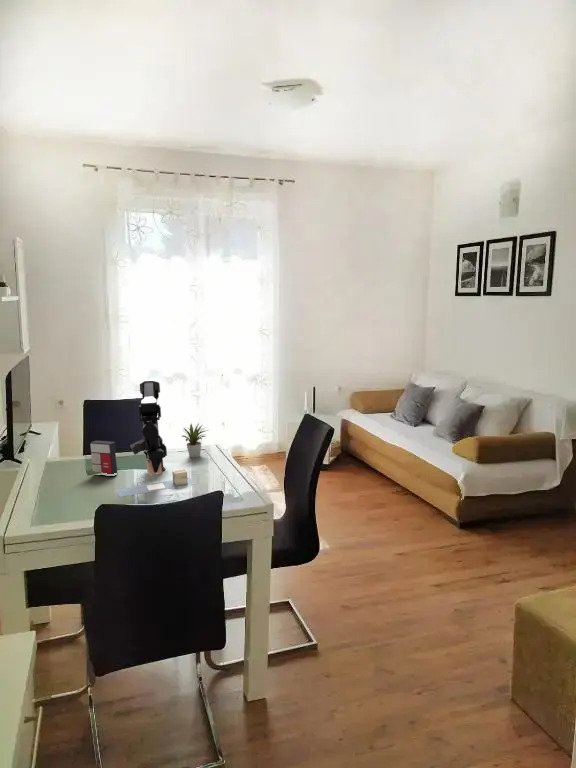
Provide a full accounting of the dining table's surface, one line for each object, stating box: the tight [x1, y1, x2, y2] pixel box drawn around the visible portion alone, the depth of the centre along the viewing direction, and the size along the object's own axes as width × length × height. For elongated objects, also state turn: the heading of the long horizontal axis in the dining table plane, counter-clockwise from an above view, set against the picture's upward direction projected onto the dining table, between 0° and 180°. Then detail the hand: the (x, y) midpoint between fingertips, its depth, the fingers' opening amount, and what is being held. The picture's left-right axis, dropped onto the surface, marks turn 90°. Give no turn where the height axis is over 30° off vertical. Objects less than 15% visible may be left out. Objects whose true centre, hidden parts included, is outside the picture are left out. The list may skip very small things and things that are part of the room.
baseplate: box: [116, 477, 196, 498], centre depth 236 cm, size 10×30×1 cm, turn 112°
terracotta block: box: [146, 459, 163, 476], centre depth 235 cm, size 5×5×5 cm
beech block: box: [171, 468, 188, 485], centre depth 240 cm, size 5×5×5 cm
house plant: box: [181, 423, 210, 458], centre depth 279 cm, size 14×14×16 cm
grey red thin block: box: [89, 440, 118, 474], centre depth 256 cm, size 11×4×15 cm, turn 68°
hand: (154, 470), depth 235 cm, fingers closed on terracotta block, 5 cm apart
